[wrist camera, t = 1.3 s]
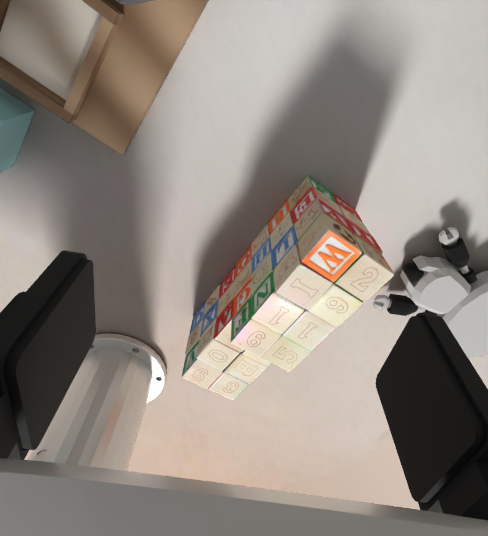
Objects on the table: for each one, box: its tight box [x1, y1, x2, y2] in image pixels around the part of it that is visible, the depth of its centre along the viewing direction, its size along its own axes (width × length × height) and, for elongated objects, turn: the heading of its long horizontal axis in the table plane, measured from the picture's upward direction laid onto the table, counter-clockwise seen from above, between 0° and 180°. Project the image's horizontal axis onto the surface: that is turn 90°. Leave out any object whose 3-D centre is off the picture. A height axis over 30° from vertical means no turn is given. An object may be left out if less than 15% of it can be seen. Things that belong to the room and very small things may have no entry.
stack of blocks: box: [182, 176, 394, 400], centre depth 35 cm, size 21×6×12 cm, turn 145°
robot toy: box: [373, 227, 488, 358], centre depth 40 cm, size 12×4×15 cm
